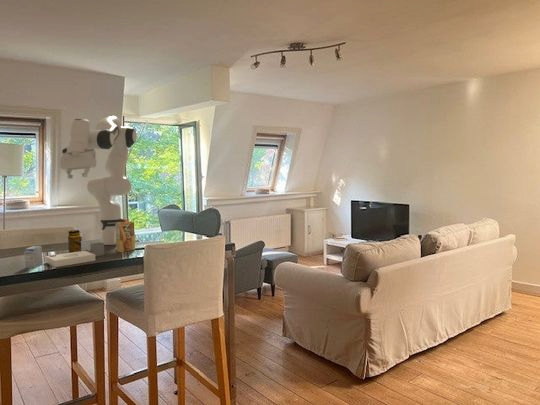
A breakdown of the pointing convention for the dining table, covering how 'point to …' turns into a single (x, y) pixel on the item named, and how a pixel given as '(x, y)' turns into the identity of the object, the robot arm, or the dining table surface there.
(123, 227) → the candy box
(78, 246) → the condiment
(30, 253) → the medicine box
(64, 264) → the socket
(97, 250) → the plug
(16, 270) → the dining table surface
